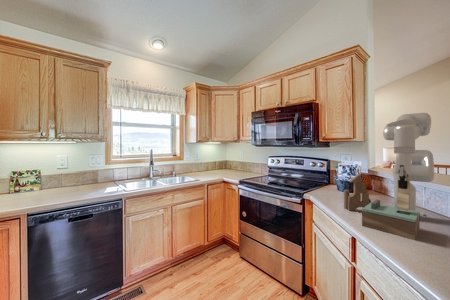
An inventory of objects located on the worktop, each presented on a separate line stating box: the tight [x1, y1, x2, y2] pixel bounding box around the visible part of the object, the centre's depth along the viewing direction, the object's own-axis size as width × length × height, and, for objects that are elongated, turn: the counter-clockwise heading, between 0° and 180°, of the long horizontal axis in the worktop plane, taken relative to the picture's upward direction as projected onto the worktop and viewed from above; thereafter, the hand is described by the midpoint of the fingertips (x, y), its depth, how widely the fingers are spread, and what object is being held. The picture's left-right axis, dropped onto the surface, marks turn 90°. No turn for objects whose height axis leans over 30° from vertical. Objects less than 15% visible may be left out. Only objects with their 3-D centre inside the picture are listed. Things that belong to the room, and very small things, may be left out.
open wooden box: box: [361, 211, 421, 241], centre depth 99 cm, size 16×20×9 cm
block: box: [397, 176, 411, 211], centre depth 95 cm, size 4×4×16 cm
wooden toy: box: [343, 173, 373, 212], centre depth 128 cm, size 16×7×25 cm, turn 72°
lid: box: [361, 199, 421, 222], centre depth 99 cm, size 16×20×4 cm
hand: (403, 187), depth 95 cm, fingers closed on block, 4 cm apart
